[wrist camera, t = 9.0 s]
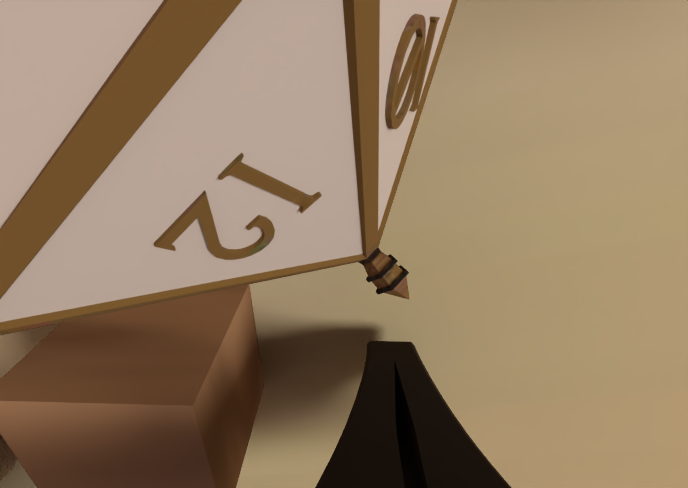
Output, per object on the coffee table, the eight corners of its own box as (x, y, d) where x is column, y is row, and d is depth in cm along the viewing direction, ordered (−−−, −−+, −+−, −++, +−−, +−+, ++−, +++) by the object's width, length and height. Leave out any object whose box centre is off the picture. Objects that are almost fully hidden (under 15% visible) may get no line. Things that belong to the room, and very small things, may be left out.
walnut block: (264, 384, 14) (226, 523, 10) (144, 381, 14) (57, 517, 10) (249, 282, 11) (192, 405, 7) (108, 279, 12) (-23, 400, 8)
